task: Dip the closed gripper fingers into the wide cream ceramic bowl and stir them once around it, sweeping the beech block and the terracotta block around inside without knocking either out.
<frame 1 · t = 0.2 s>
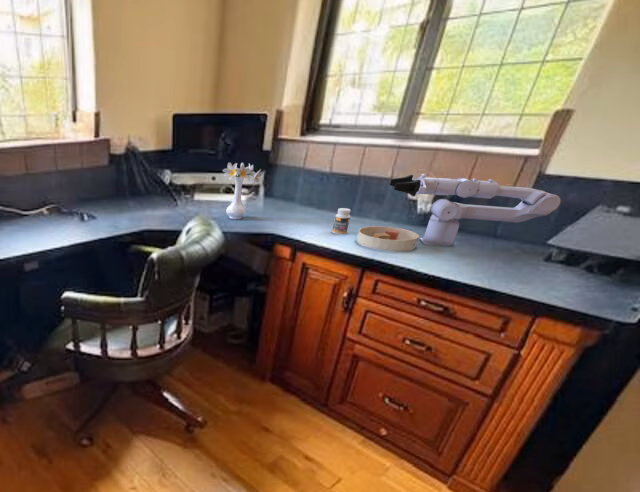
hand: (392, 184, 157), 21 cm above the table, tool horizontal, fingers open, 7 cm apart
terracotta block: (389, 241, 163), point 1 cm above the table, touching bowl
beech block: (379, 244, 160), point 1 cm above the table, touching bowl
bowl: (384, 244, 162), on the table
flower vase: (236, 218, 204), on the table
pill bottle: (338, 233, 177), on the table
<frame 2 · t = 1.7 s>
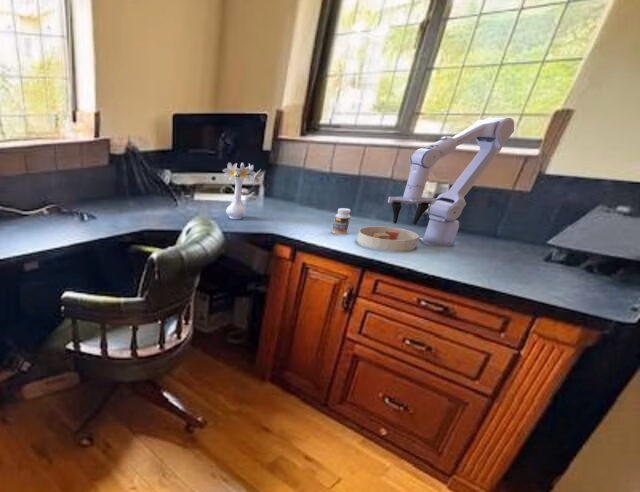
hand: (404, 223, 156), 8 cm above the table, tool pointing down, fingers open, 6 cm apart
nothing on the table moved.
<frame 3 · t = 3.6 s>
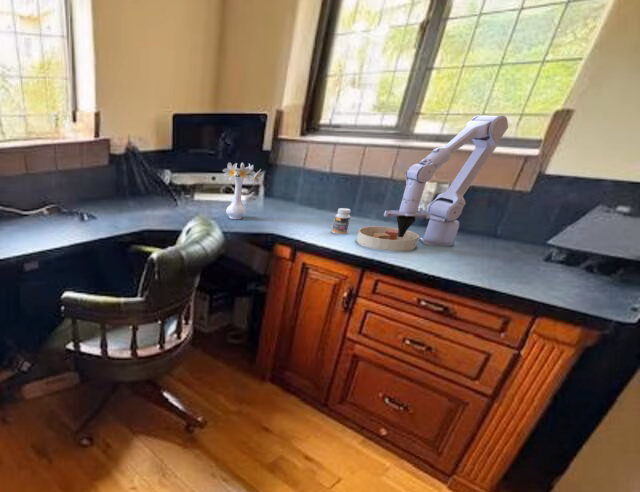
hand: (400, 236, 159), 3 cm above the table, tool pointing down, fingers closed
terracotta block: (389, 241, 163), point 1 cm above the table, touching bowl, gripper
everything else where it was.
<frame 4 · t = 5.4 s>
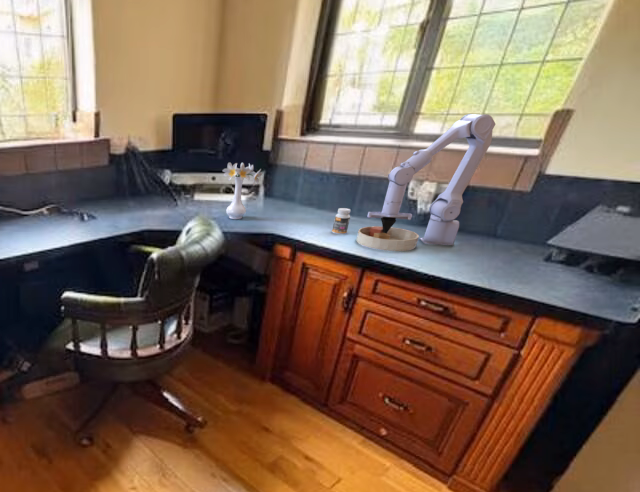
hand: (383, 237, 164), 2 cm above the table, tool pointing down, fingers closed, pressing on terracotta block
terracotta block: (375, 238, 167), point 1 cm above the table, touching bowl, gripper
everything else where it was.
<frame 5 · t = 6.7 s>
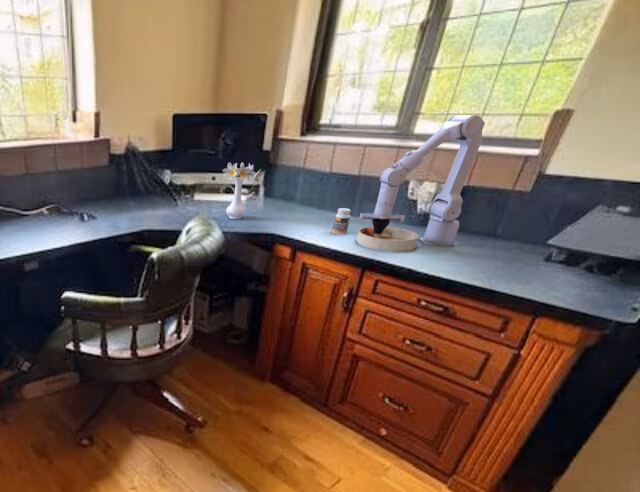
hand: (375, 238, 162), 2 cm above the table, tool pointing down, fingers closed
terracotta block: (371, 237, 168), point 1 cm above the table, touching bowl
beech block: (379, 245, 159), point 1 cm above the table, touching bowl, gripper
everything else where it was.
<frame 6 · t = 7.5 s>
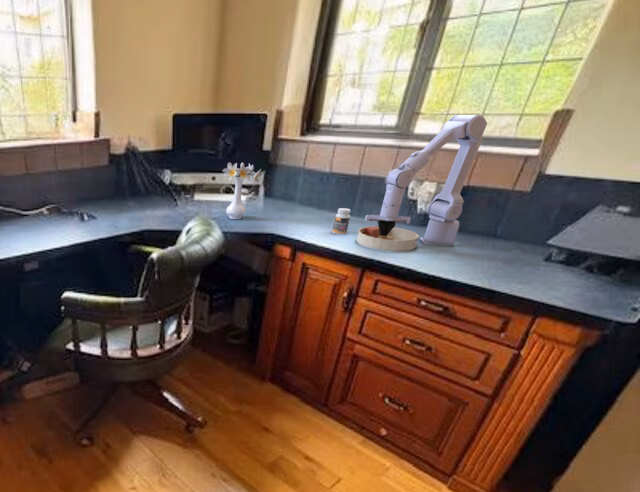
hand: (381, 241, 159), 2 cm above the table, tool pointing down, fingers closed, pressing on beech block
beech block: (383, 247, 156), point 1 cm above the table, touching gripper
everything else where it was.
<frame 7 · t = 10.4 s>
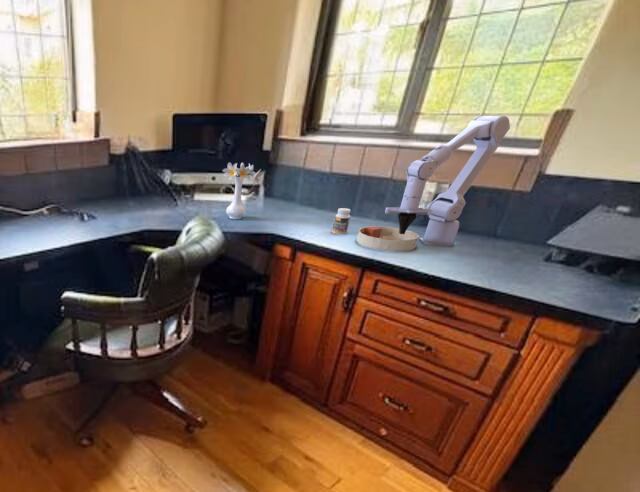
hand: (401, 233, 158), 5 cm above the table, tool pointing down, fingers closed
beech block: (386, 248, 156), point 1 cm above the table, touching bowl
everything else where it was.
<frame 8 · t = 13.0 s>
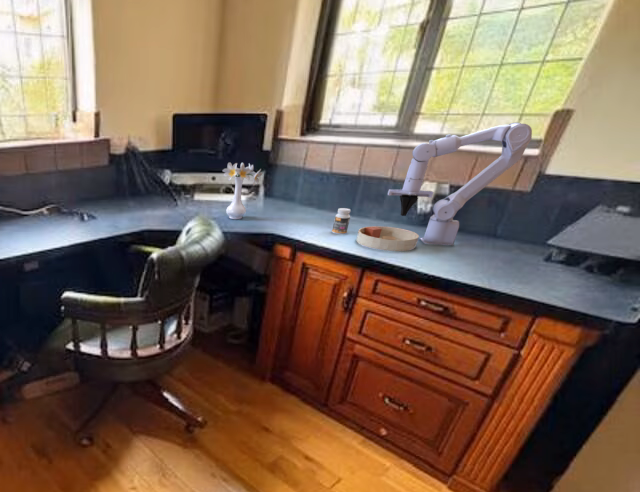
hand: (403, 215, 163), 9 cm above the table, tool pointing down, fingers closed
nothing on the table moved.
at the end: beech block inside the target area in the bowl (7.3 cm from its centre), point 0.6 cm above the bowl's base; terracotta block inside the target area in the bowl (7.2 cm from its centre), point 0.6 cm above the bowl's base; beech block moved 4.5 cm from its start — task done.
